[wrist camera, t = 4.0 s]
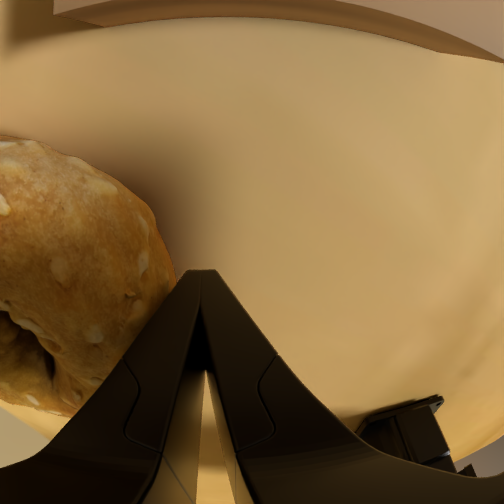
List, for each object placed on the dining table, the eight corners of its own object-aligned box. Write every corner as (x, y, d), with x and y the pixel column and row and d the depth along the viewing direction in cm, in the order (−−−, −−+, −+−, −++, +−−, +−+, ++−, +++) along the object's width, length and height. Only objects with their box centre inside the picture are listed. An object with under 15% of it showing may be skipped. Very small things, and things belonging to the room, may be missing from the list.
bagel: (-24, 339, 11) (-57, 417, 7) (-61, 106, 5) (-165, 163, 1) (162, 389, 14) (160, 485, 10) (229, 150, 8) (248, 253, 4)
